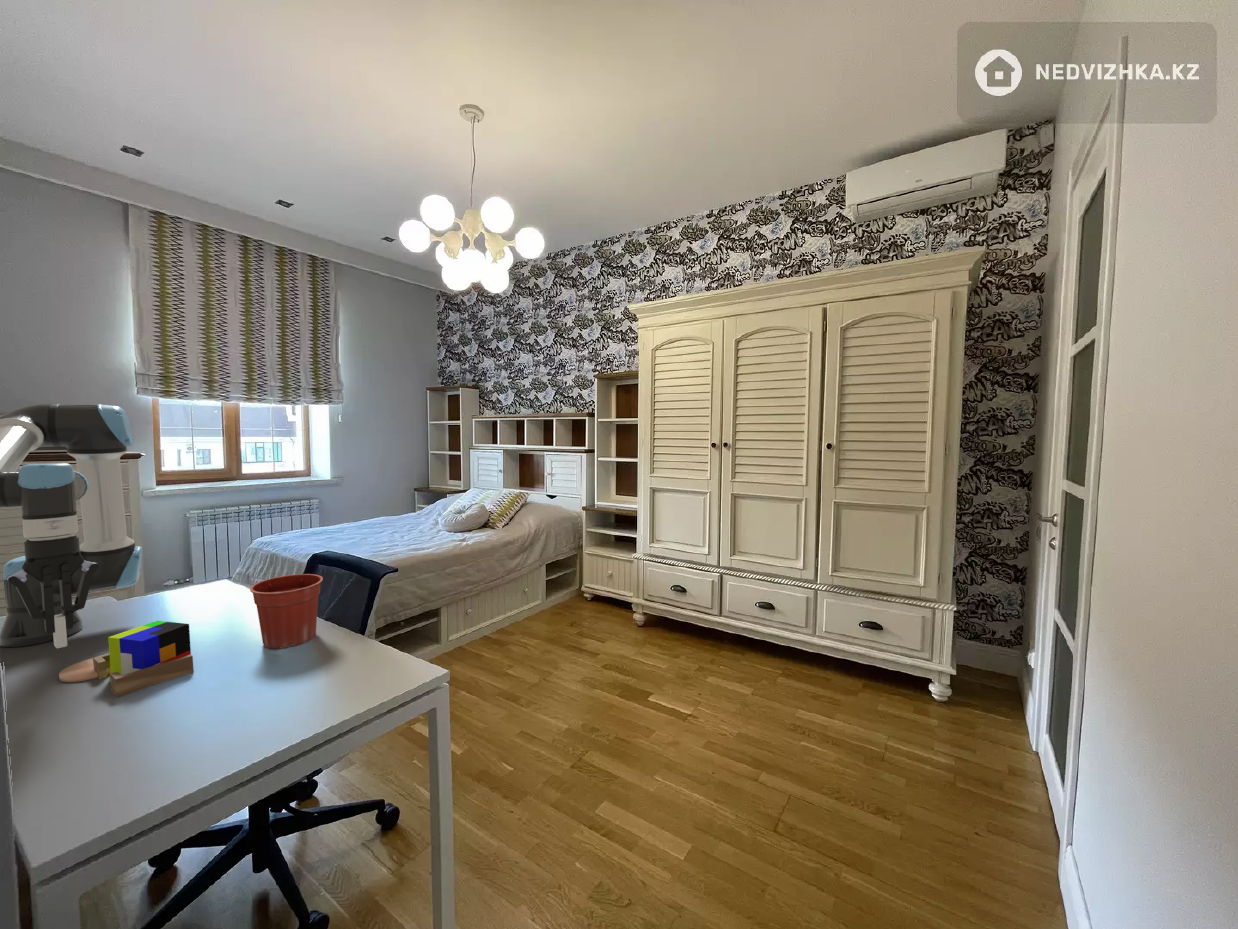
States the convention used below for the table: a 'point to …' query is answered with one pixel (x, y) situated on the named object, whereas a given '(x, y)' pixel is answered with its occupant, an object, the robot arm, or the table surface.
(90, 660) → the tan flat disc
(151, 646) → the puzzle toy
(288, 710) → the table surface
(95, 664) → the pocket frame
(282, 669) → the table surface
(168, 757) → the table surface
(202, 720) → the table surface
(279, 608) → the flower pot
